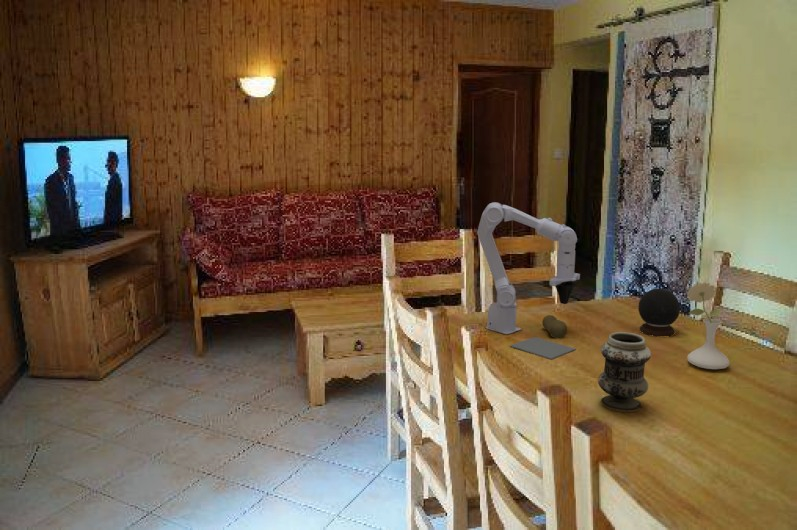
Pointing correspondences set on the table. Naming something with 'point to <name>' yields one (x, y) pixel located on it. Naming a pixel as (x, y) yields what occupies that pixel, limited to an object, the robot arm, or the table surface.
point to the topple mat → (542, 348)
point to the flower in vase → (707, 331)
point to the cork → (554, 326)
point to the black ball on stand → (658, 312)
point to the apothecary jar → (624, 371)
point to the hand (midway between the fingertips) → (563, 303)
